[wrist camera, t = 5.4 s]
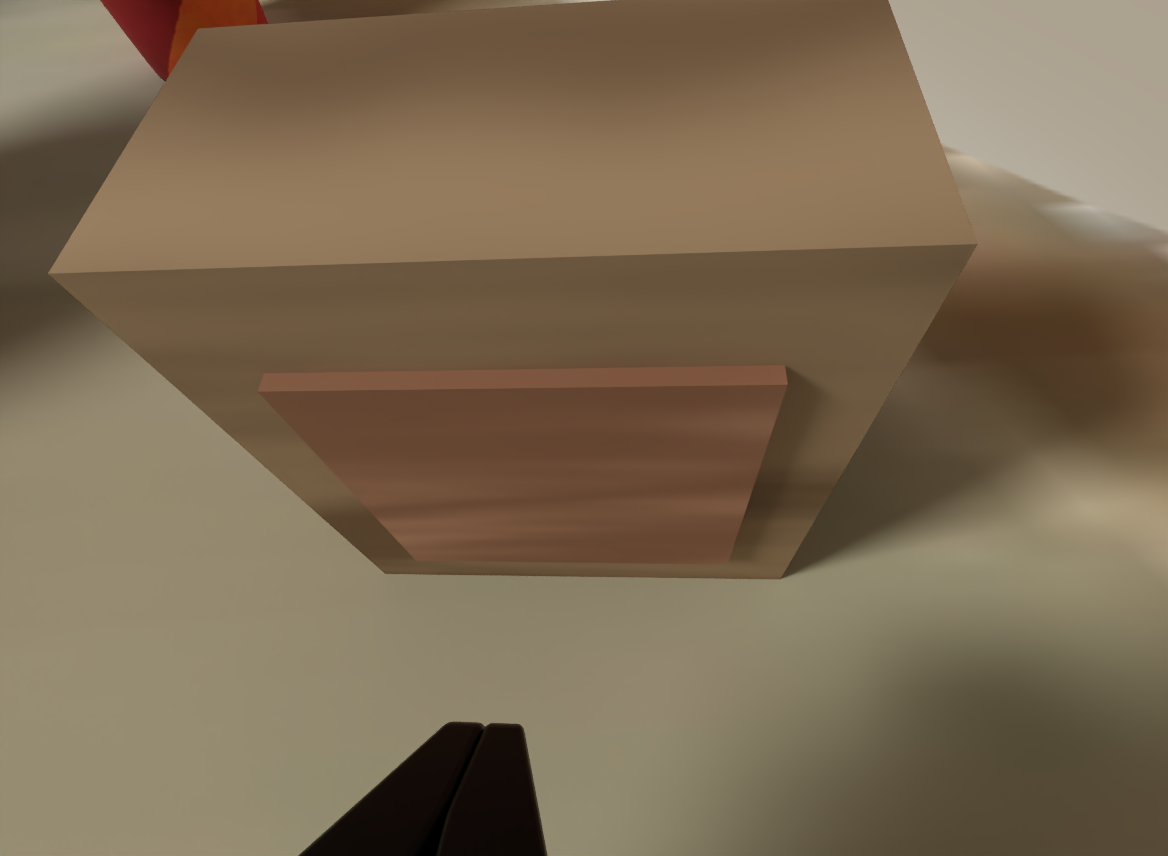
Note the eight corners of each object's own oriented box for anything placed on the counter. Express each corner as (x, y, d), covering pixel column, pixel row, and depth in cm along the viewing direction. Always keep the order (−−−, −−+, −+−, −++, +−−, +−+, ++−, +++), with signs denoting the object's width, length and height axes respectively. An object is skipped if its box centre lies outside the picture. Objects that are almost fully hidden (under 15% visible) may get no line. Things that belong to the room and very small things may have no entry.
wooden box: (781, 591, 16) (985, 266, 6) (383, 585, 17) (35, 294, 7) (760, 406, 18) (881, -19, 9) (418, 410, 19) (197, 28, 10)
